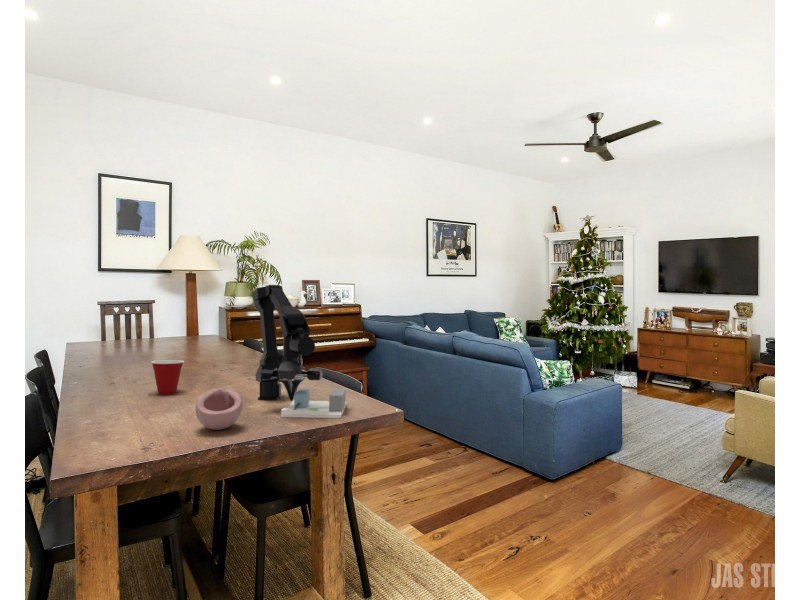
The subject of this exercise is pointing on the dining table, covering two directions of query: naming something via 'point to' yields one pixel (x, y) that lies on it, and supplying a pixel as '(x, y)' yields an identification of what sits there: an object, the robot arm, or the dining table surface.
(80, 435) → the dining table surface
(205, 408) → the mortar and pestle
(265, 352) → the robot arm
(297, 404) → the plunger
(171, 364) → the plastic cup
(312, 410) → the frame
